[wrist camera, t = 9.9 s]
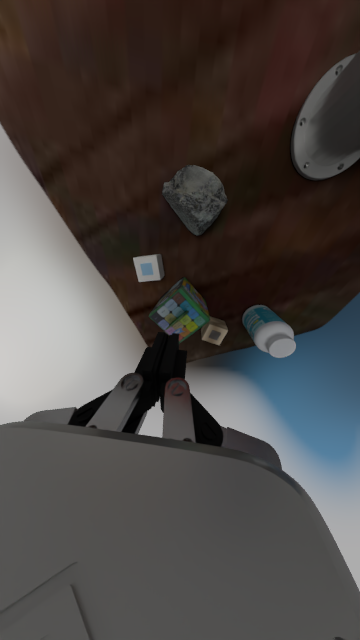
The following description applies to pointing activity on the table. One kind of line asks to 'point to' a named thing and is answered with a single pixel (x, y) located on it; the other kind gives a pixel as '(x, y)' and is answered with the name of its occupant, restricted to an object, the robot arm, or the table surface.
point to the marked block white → (149, 267)
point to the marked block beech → (214, 331)
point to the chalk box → (181, 310)
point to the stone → (195, 197)
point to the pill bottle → (269, 331)
